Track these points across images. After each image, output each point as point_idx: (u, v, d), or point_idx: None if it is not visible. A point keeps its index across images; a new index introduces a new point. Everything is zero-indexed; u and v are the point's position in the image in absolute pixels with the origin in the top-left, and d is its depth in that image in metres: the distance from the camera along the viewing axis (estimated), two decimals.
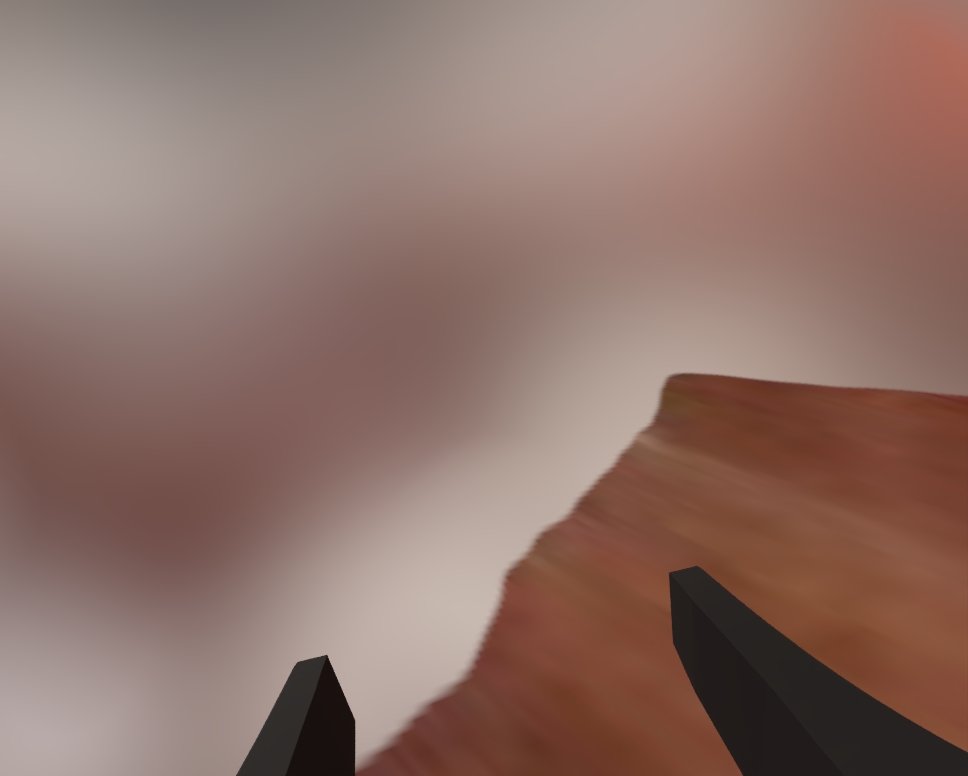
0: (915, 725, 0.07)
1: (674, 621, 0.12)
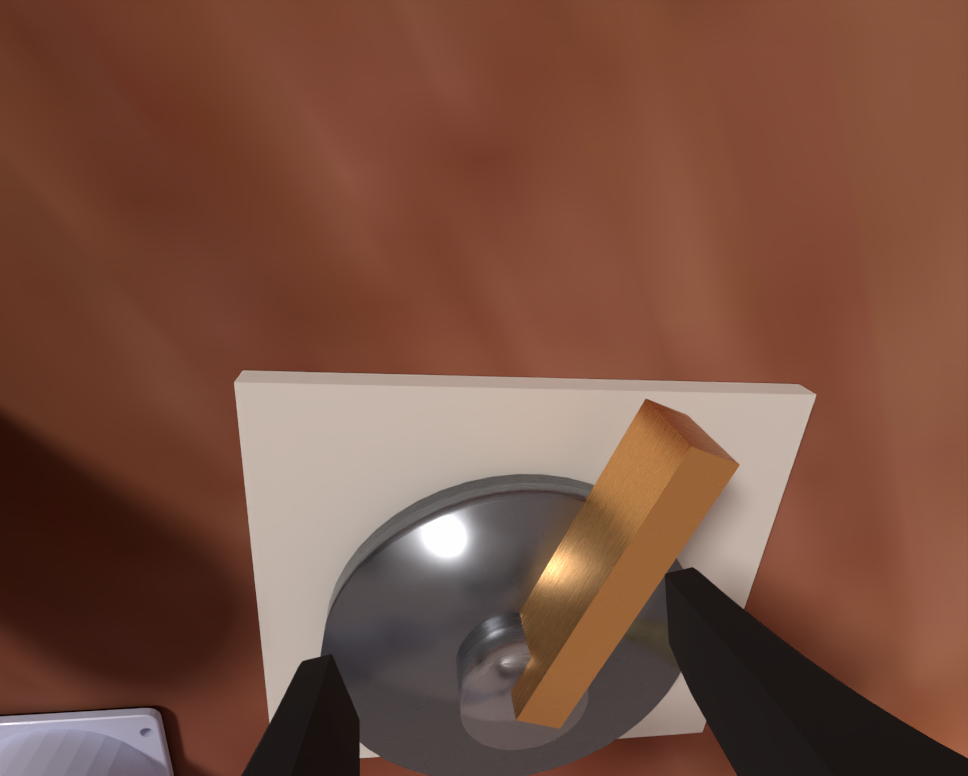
0: (908, 727, 0.07)
1: (670, 622, 0.12)
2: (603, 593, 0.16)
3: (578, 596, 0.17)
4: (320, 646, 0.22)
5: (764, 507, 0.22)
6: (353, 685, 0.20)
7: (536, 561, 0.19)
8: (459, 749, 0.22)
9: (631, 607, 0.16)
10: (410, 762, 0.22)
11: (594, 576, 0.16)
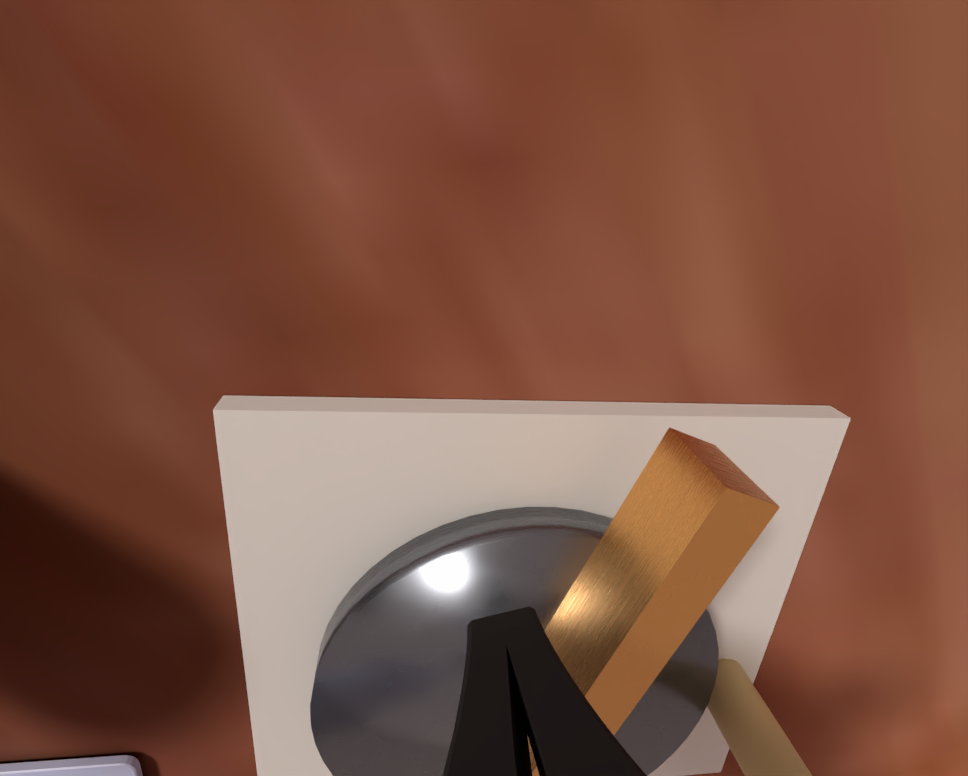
0: None
1: None
2: (623, 647, 0.14)
3: (595, 648, 0.15)
4: (311, 690, 0.20)
5: (791, 538, 0.20)
6: (347, 736, 0.18)
7: (547, 603, 0.17)
8: None
9: (655, 661, 0.15)
10: None
11: (613, 627, 0.15)
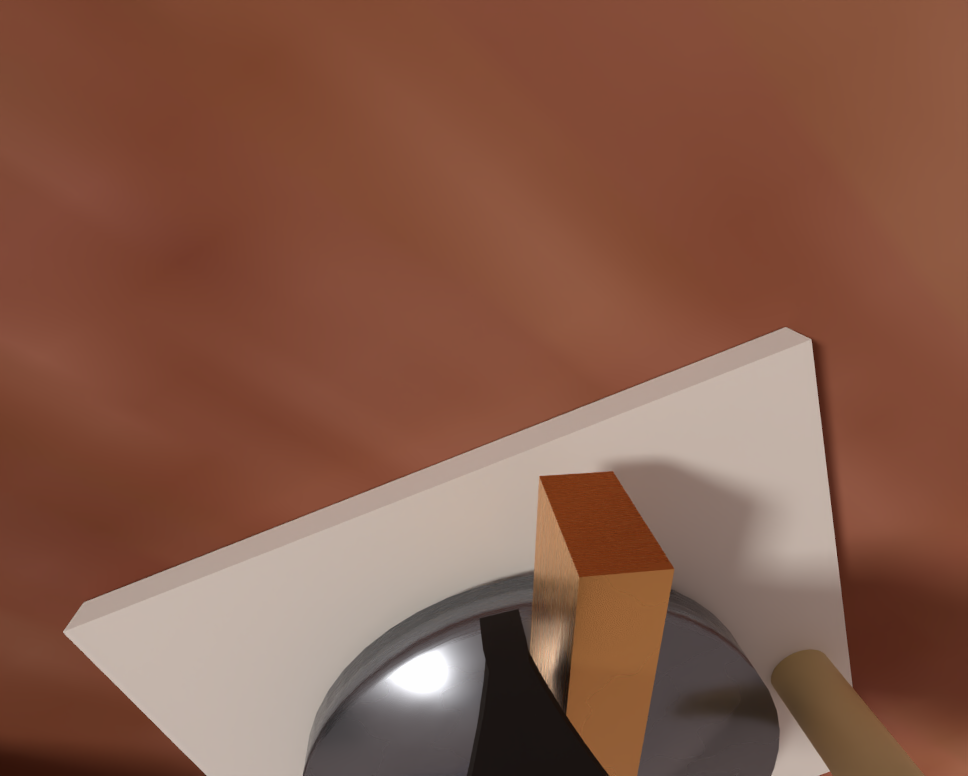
0: None
1: None
2: None
3: None
4: None
5: (809, 501, 0.15)
6: None
7: None
8: None
9: None
10: None
11: None
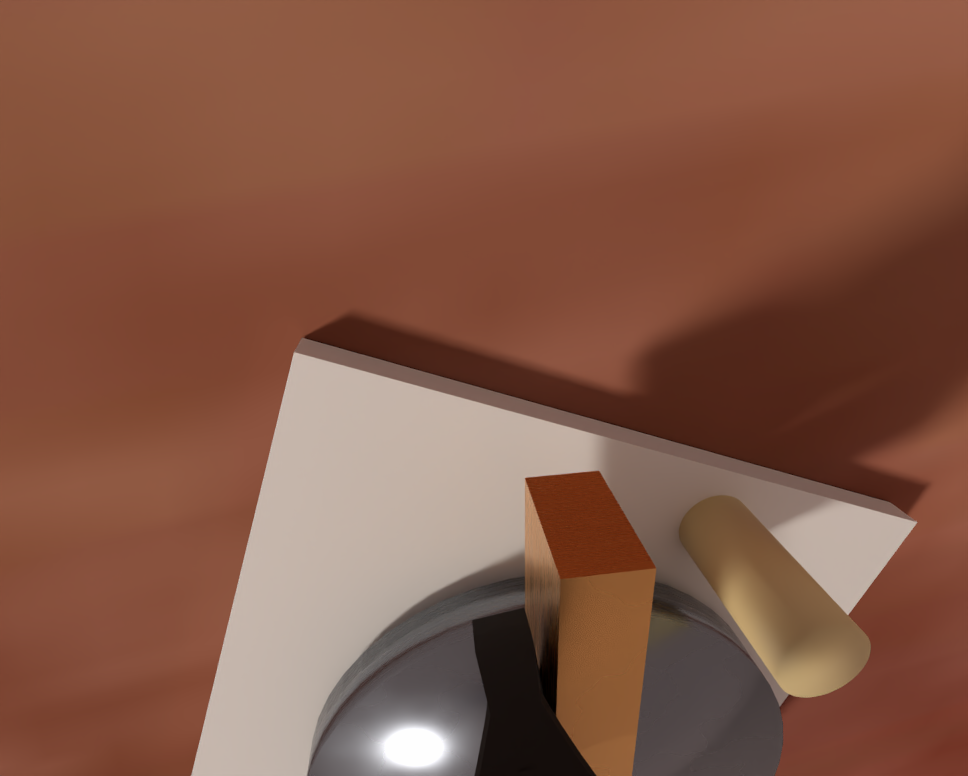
0: None
1: None
2: None
3: None
4: None
5: (494, 431, 0.13)
6: None
7: None
8: None
9: (615, 775, 0.11)
10: None
11: None
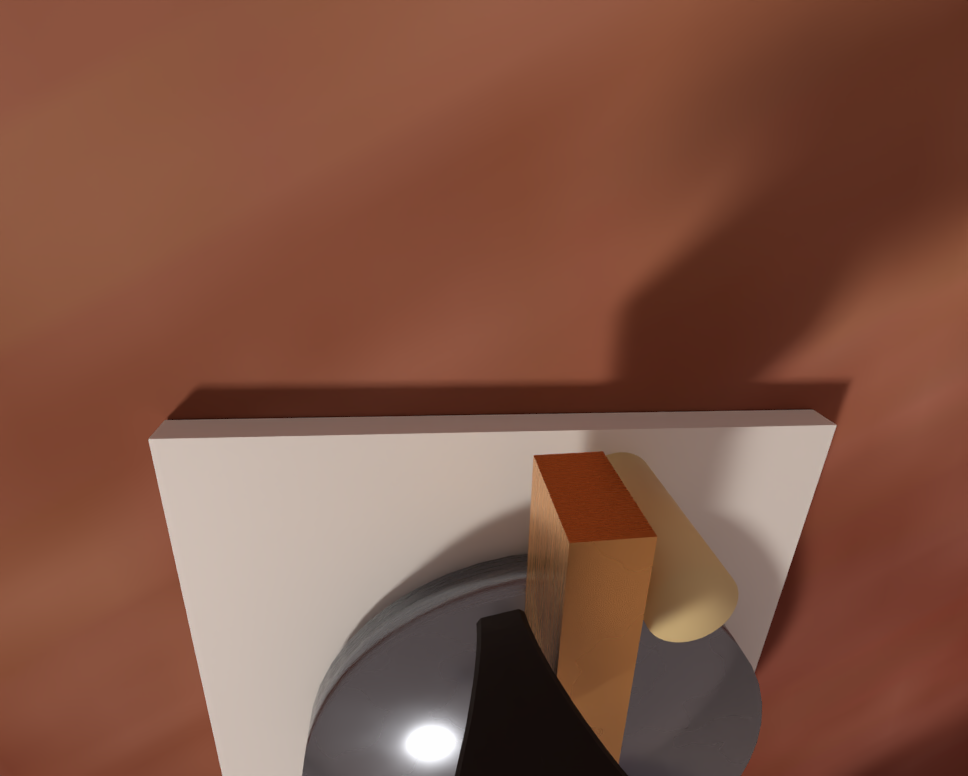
0: None
1: None
2: None
3: None
4: None
5: (359, 455, 0.14)
6: None
7: None
8: None
9: (608, 736, 0.12)
10: None
11: None
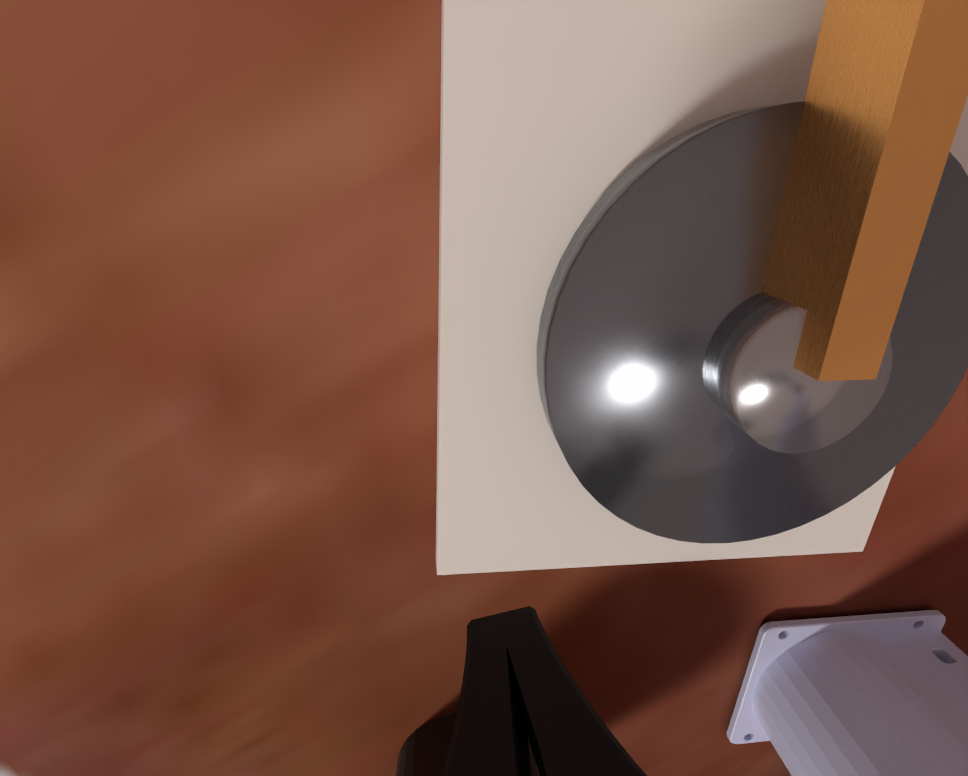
0: None
1: None
2: (890, 143, 0.12)
3: (851, 182, 0.13)
4: None
5: None
6: (598, 450, 0.18)
7: (764, 210, 0.15)
8: (738, 501, 0.19)
9: (934, 154, 0.12)
10: (687, 532, 0.19)
11: (868, 137, 0.12)
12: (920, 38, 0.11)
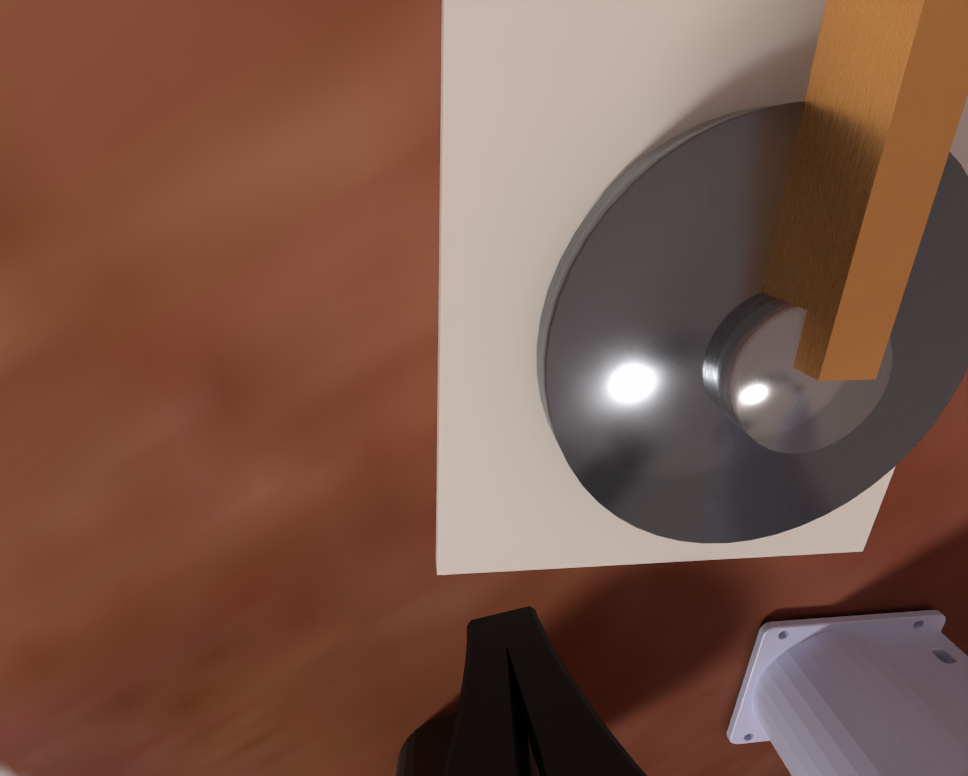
0: None
1: None
2: (890, 143, 0.12)
3: (851, 182, 0.13)
4: None
5: None
6: (598, 450, 0.18)
7: (764, 210, 0.15)
8: (738, 501, 0.19)
9: (934, 154, 0.12)
10: (687, 532, 0.19)
11: (868, 137, 0.12)
12: (920, 38, 0.11)
